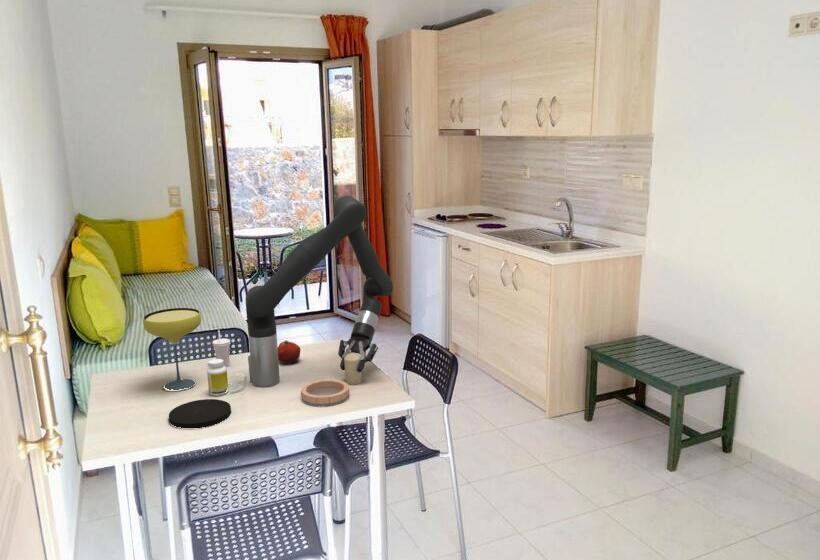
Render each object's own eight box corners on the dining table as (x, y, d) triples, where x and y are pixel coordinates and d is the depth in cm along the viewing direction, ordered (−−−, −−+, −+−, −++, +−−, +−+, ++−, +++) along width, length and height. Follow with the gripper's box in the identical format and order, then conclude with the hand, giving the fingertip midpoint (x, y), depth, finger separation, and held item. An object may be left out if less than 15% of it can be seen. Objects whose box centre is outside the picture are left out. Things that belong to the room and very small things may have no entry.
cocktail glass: (138, 392, 212) (130, 320, 206) (174, 374, 229) (167, 306, 223) (184, 398, 206) (176, 324, 201) (217, 379, 223) (211, 309, 217)
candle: (359, 385, 215) (357, 356, 212) (343, 384, 216) (341, 356, 213) (363, 379, 220) (362, 351, 218) (348, 378, 221) (346, 350, 219)
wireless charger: (242, 416, 193) (241, 410, 192) (185, 435, 181) (185, 429, 180) (213, 400, 205) (213, 394, 205) (159, 417, 193) (158, 411, 193)
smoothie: (214, 364, 238) (211, 328, 235) (232, 362, 239) (229, 326, 236) (214, 370, 232) (211, 333, 229) (233, 368, 233) (229, 331, 230)
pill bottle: (232, 391, 211) (230, 359, 209) (218, 398, 206) (215, 365, 204) (219, 388, 215) (216, 356, 212) (205, 394, 209) (202, 362, 207)
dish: (292, 401, 202) (291, 392, 202) (320, 385, 215) (319, 376, 214) (331, 409, 195) (331, 400, 195) (357, 392, 208) (357, 383, 208)
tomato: (293, 356, 245) (292, 336, 243) (306, 362, 238) (304, 341, 237) (271, 361, 239) (270, 341, 238) (283, 368, 232) (282, 346, 231)
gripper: (342, 319, 223) (327, 363, 215) (380, 323, 218) (365, 368, 209) (350, 329, 229) (335, 372, 221) (387, 333, 223) (373, 377, 215)
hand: (350, 370), depth 215 cm, fingers closed on candle, 5 cm apart
